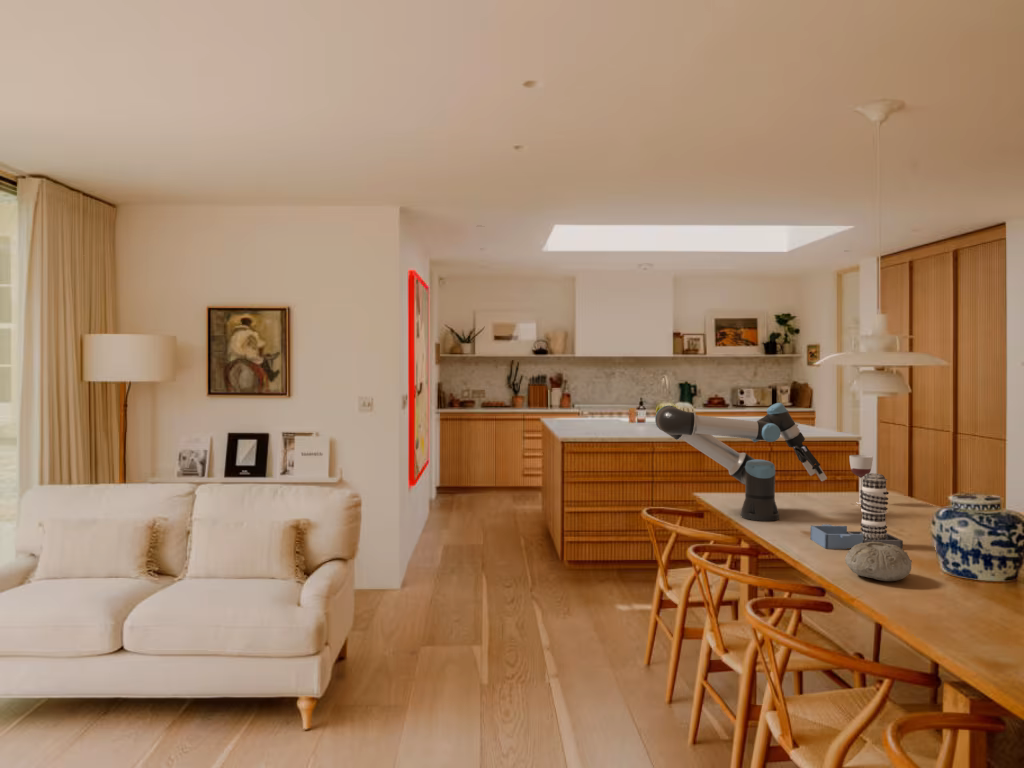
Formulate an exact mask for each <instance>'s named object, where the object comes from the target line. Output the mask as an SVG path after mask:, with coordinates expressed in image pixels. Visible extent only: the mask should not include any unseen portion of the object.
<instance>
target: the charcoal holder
mask: <svg viewBox="0 0 1024 768" xmlns="http://www.w3.org/2000/svg"><path fill="white" fill-rule="evenodd" d="M861 532H862V531H861V530H859V531H854V530H853V531H851V530H850V531H849V530H847V534H860V533H861ZM885 534H886V535H887V538H886V540H864V539H863V543H867V542H872V541H874V542H882V543H885V544H890V545H892V544H893V545H895V546H898V547H900V548H901V549H902V550H904V549H903V546H904V545H903V544H904V541H903V540H902V539H900V538H898V537H896V536H893V535H892V534H890V533H888V532H886V533H885Z"/></svg>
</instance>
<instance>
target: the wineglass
mask: <svg viewBox="0 0 1024 768" xmlns="http://www.w3.org/2000/svg"><path fill="white" fill-rule="evenodd" d="M873 459H874V457H873V456H872V455H866V454H865V455H864V454H850V455H849V465H850V470H851V472H852V474H854V475H855V476H858V477H859V491H860V490H862V486H863V479H862V478H863V477H864V476H865V475H866V474H870V473H871V471H872V466H873ZM858 495H859V499H858V500H859V502H857V501H855V502H856V503H857V504H861V503H860V501H861V500H862V499H861V497H860V495H861V493H860V492H859V494H858Z"/></svg>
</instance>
